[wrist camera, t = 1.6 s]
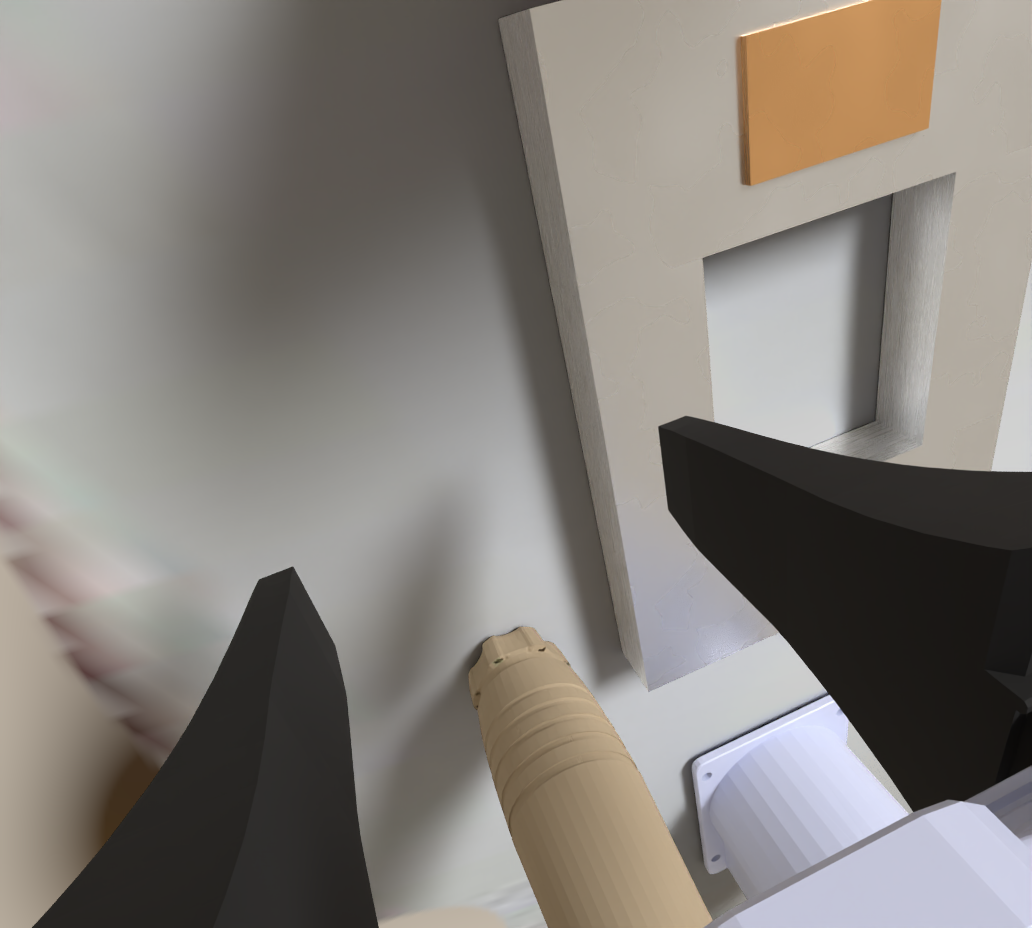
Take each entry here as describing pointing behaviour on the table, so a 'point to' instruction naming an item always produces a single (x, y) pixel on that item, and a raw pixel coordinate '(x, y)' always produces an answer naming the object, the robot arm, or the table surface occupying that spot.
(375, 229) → the table surface
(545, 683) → the handle
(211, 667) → the table surface
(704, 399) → the rack plate
